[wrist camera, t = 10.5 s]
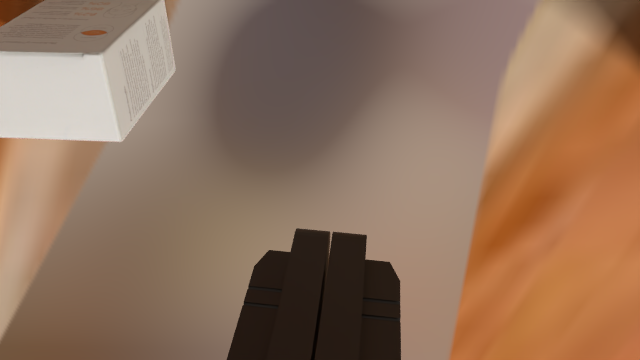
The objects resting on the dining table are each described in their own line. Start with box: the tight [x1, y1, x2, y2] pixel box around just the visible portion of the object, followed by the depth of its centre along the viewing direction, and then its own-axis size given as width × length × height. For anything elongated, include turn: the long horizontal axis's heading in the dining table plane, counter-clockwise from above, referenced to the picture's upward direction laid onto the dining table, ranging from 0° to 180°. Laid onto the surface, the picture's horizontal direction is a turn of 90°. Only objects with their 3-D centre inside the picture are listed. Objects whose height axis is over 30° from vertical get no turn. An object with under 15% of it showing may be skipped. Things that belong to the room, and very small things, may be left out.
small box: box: [0, 0, 175, 142], centre depth 36 cm, size 8×6×10 cm
